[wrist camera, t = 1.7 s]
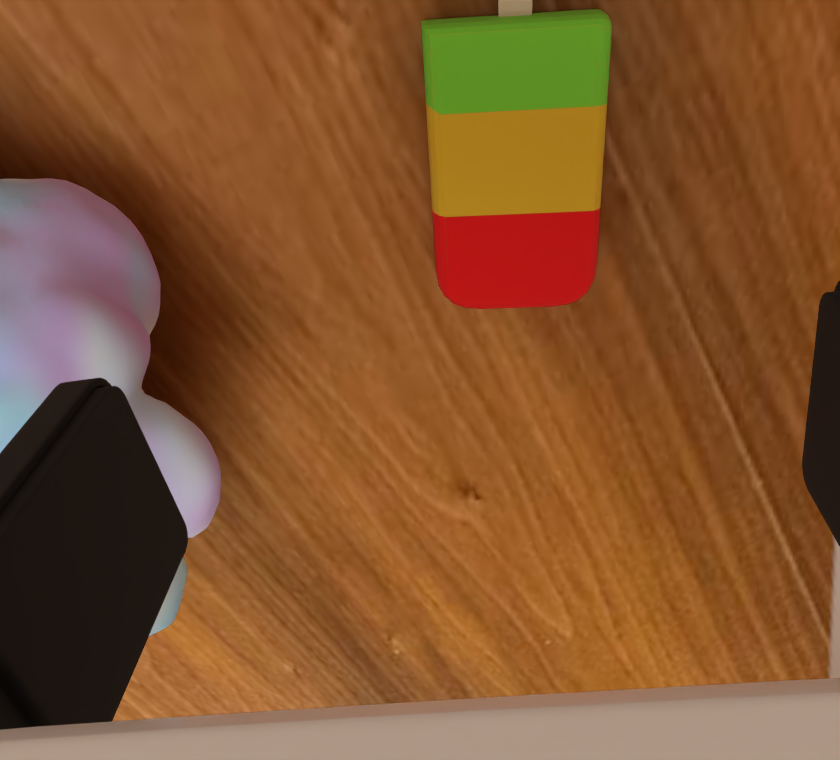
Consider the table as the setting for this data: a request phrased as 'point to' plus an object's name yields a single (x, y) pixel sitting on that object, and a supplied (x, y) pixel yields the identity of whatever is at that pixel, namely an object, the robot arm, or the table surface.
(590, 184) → the popsicle
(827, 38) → the table surface
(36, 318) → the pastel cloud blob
